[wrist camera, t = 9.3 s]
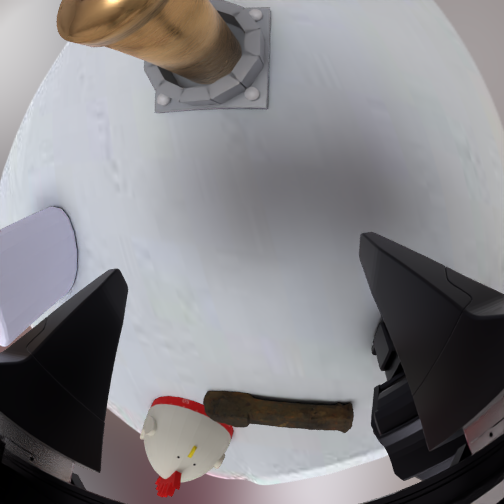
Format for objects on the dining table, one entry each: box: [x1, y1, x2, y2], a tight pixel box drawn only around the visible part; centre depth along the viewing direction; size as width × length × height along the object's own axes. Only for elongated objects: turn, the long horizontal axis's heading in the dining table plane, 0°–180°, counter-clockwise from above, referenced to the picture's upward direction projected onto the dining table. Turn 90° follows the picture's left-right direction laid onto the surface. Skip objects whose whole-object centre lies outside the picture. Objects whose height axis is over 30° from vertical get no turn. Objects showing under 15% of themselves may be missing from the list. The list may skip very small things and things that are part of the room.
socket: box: [144, 0, 271, 113], centre depth 16 cm, size 9×9×3 cm
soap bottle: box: [0, 206, 77, 346], centre depth 18 cm, size 13×8×20 cm, turn 152°
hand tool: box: [203, 391, 354, 433], centre depth 29 cm, size 19×4×5 cm, turn 84°
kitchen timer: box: [140, 396, 233, 497], centre depth 30 cm, size 14×14×15 cm
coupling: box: [57, 0, 242, 84], centre depth 10 cm, size 5×5×13 cm
